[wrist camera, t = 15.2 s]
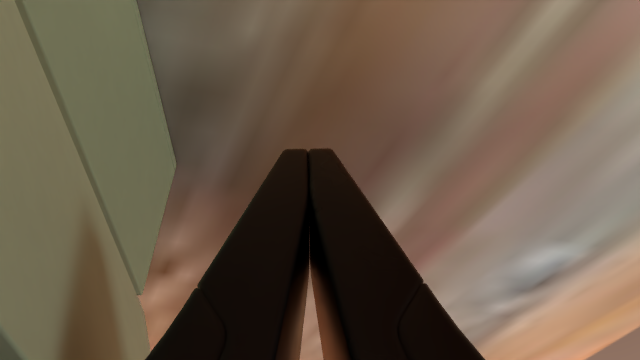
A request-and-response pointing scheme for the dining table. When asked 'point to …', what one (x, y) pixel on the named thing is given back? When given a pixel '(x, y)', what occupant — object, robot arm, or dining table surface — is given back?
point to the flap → (54, 229)
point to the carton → (109, 113)
